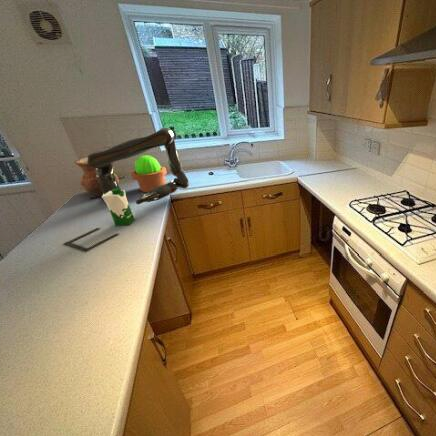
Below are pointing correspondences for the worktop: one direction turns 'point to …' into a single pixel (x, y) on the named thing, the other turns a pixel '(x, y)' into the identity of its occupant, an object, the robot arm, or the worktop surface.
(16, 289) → the worktop surface
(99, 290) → the worktop surface
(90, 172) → the jug
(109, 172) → the robot arm
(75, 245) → the dark flat u-shaped piece
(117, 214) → the soya milk
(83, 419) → the worktop surface
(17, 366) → the worktop surface
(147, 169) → the potted cactus
